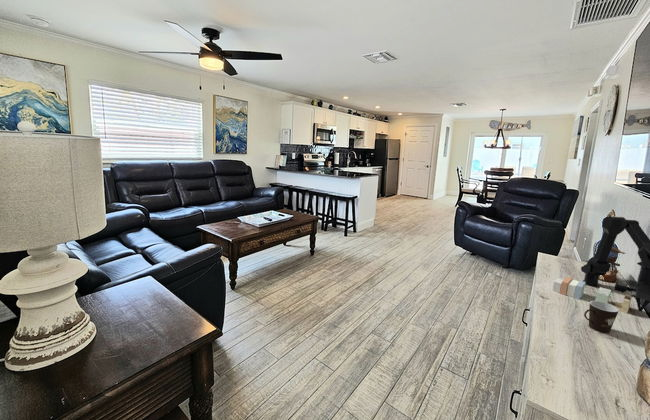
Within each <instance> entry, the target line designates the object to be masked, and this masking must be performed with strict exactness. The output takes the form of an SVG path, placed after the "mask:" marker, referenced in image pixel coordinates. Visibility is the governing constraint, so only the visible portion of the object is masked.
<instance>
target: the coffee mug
mask: <svg viewBox="0 0 650 420" xmlns="http://www.w3.org/2000/svg"><path fill="white" fill-rule="evenodd" d="M619 312H620V311H619V309H618V308H617V307H615V305H613V304H611V303H609V302H608V303H605V302H601V301H595V300H591V301H589V308H588V309H587V310H585V311H584V315H583V316H584V318H585V319H586V320H587V321H588V327H589V329H591V330H594V331H595V332H598V333H602V334H610V332H611V330H612V328H613V325H614V323H615V321H616V318H617V316H618V315H619ZM587 313H588V317H587Z"/></svg>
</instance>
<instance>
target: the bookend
mask: <svg viewBox="0 0 650 420" xmlns="http://www.w3.org/2000/svg"><path fill="white" fill-rule="evenodd" d="M632 298H633V297H632V296H631V295H630V294H625V296H624V298H623V300H622V301H623V302H618V301H615V304H614V306H615V307H617V308H618V309H619V312H620V313H623V314H628V312H629V309H630V305H631V302H632Z"/></svg>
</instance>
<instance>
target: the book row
mask: <svg viewBox="0 0 650 420" xmlns="http://www.w3.org/2000/svg"><path fill="white" fill-rule="evenodd" d="M585 283H586V282H584V281H583V280H576V279H573V278H572V277H568V276H566V277H565V278H559V277H557V278H556V279H555V280H554V282H553V285H552V292H554V293H555V292H557V293H559V294H560V295H564V296H567V297H572V298H574V299H577V300H580V299H581V298H582V296H583V295H584V293H585V288H586V284H585Z"/></svg>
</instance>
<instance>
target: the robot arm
mask: <svg viewBox="0 0 650 420" xmlns="http://www.w3.org/2000/svg"><path fill="white" fill-rule="evenodd" d="M601 227H602V229H603V235H602V237H601V238H600V242H599V244H598V246H597V249H596V251H595V253H596V254H595V253H594V254H595V256H594V255H593V256H592V257H590V258H589V259H588V260H587V261H588V262H587V261H586V264H584V265H583V266H581V267H580V271H581V272H582V273H584V278H583V280H582V281H584V282H586V283H585V286H591V287H595V288H598V287H599V285H600V283H599V281H600V280H599V276H600V275H605V274H606V272H607V271H609V268H610V267H612V264H611V265H610V264H609V263H608V260H607V259H608V256H609V254H611V249H612V247H614V244H615V241H616V239H617V237H618V235H620V234H621V233H623V232H624V231H626V232H627V234H628V235H629V237H630V238H631V239H632V241H633V243H634V244H635V246H636V247H637V249H638V250H637V255H638V257H639V259H640V261H639V262H637V263H636V264H637V265H639V266H640V269H639V270H640V271H639V275H638V278H637V282H636V285H635V288H634V287H631V286H629V284H628V283H625V282H621V281H617V282H616V283H615V284H614V289H613V291H616V292H620V293H626V292H627V291H628V292H631V295H630V296H632V298H634V299H635V301H636V304H637V309H638V311H639V312H642V311H643V310H644V309H645V308H646V307H647V305H649V304H650V238H649V237H648V235H647V234H646V233H645V231H644V230H643V229H642V227H641V226H640V222H639V221H638V220H635V219H627V218H625V217H623V216H606V217H604V218H603V221H602V226H601ZM642 299H643V302H642Z"/></svg>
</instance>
